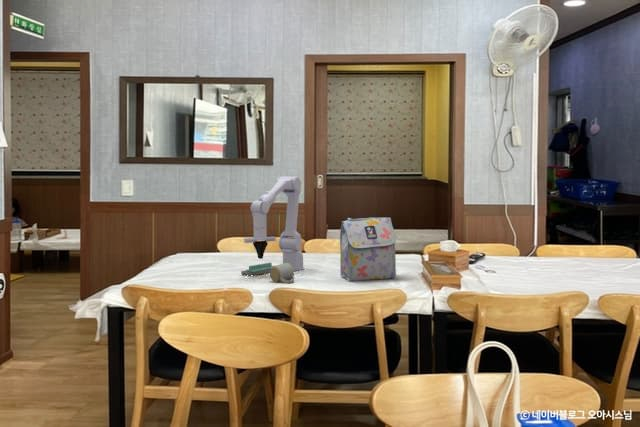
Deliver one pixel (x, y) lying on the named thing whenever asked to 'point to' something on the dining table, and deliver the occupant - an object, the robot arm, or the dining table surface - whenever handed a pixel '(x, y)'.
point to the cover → (260, 267)
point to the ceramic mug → (282, 273)
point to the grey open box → (255, 272)
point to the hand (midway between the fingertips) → (260, 258)
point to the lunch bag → (367, 249)
